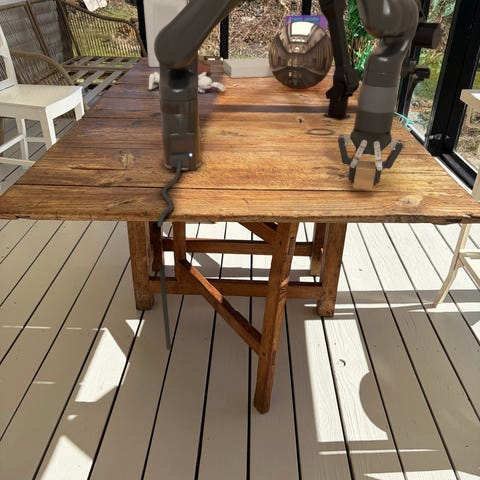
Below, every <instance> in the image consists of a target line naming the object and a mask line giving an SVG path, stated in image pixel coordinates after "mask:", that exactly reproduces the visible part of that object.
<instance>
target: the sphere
mask: <svg viewBox="0 0 480 480" xmlns="http://www.w3.org/2000/svg"><path fill="white" fill-rule="evenodd" d="M268 49H269V50H268V58H269V65H270V68H271V71H272V73H273V75H274V76H273V77H274V78H275V79H276V80H277V81H278V83H280V84H281V85H283V86H284V87H286V88H288V89H291V90H297V91H302V90H308V89H311V88H314V87H315V86H317V85H318V84H320V83H321V82H322V81H323V80H324V79H325V78H326V77H327V76H328V74H329V72H330V70H331V68H332V65H333V62H334V57H333V51H332V45H331V39H330V35H329V34H328V33H327V30H326V31H325V30H324V29H323V28H321V27H320V26H319V25H317V24H315V23H313V22H309V21H296V22H292V23H290V24H288V25H286V26H285V25H284V26H283V27H282V28H280V29H279V30H278V31H277V33H276V34H275V35H274V36H273V38H272V41H271V43H270V46H269V48H268Z"/></svg>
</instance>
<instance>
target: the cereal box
mask: <svg viewBox="0 0 480 480" xmlns="http://www.w3.org/2000/svg"><path fill="white" fill-rule="evenodd" d="M296 21H309V22H313V23H315V24H317V25H319V26H320V27H321V28H323V29H324V30H325V31H326V32H327V27H328V22H327V19H326V18H325V16H324V15H323V14H310V15H306V14H305V15H301V14H300V15H285V17H284V26H286V25H288V24H290V23H292V22H296Z"/></svg>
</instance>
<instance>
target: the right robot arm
mask: <svg viewBox="0 0 480 480" xmlns="http://www.w3.org/2000/svg"><path fill="white" fill-rule="evenodd" d="M346 1H347V0H317V3H318V5H319V9H320V12H321V14H322V15H324V16H325V18H326V19H327V28H328V33H329V37H330V39H331V45H332V51H333V62H334V71H333V75H332V86H331V87H329V88H328V89H327V90H326V91H325V99H327V100H329V102H328V107H327V112H326V113H324V114H323V116H324V117H326V118H331V119H334V120H338V121H341V120H343V119H344V120H345V119H347V118H349V117H351V114H349V113H348V105H349V98H352V97H353V95H354V94H355V92H357V91H358V89H359V87H360V82H362V80H361V78H360V70H359V68H358V67H357V68H354V67H353V65H352V63H351V58H350V51H349V44H348V40H347V33H346V26H345V21H344V20H345V19H344V15H345V10H346V6H347V5H346V4H347V3H346ZM414 1H415V3H416V5H417V7H418V24H417V28H416V31H415V34H414V37H413V39H412V42H411V44H410V46H409V49H408V51H407V53H406V56H405V58H404V60H403V62H402V67H401V73H400V78H406V77H407V75H411V78H410V82H409V85H408V89H407V93H406V97H405V102H408V101H409V100H410V97H411V96H412V94H413V92H414V91H415V88H416V87H418V85H419V83H420V82H424V81H425V80H426V79H427V80H428V79H430V78H431V72H432V70H431V68H430V66H429V65H427V64H417V58H411V57H410V54H411V48H412V45H413V47H414V48H420V49H427V50H436V49H437V48H438V47H439V46H440V44H441V41H442V38H443V37H442V36H443V34H442V28H441V25H442V22H440V21H435V22H434V21H433V22H432V21H427V19H426V16H425V13H424V11H423V8H422V1H421V0H414ZM364 66H365V63H364V64H363V67H364ZM362 72H364V69H363V71H362Z"/></svg>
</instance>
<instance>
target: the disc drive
mask: <svg viewBox="0 0 480 480" xmlns="http://www.w3.org/2000/svg"><path fill="white" fill-rule="evenodd" d="M222 61H223V62H222V66H223V67H222V70H223V71H224V72H225V73H226V74H227V75H228V76H229V78H231V79H237V78H238V79H240V78H241V79H242V78H263V77H275V76H274V75H273V73H272V71H271V68H270V65H269V57H258V58H257V57H256V58H254V57H253V58H225V59H223V60H222Z"/></svg>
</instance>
